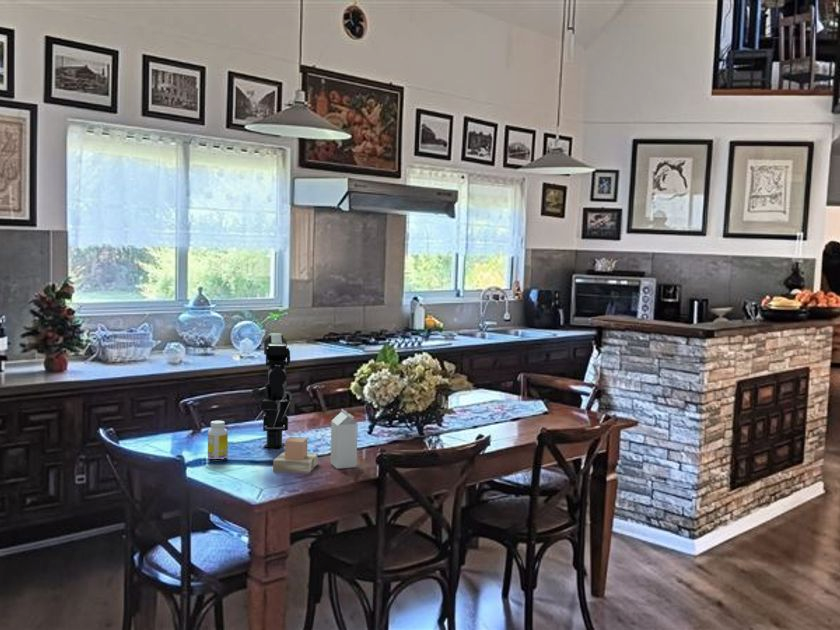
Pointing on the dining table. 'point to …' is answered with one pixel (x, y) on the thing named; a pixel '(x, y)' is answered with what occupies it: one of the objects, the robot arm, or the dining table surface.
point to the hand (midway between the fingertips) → (275, 424)
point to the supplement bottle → (217, 440)
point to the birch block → (295, 464)
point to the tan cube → (296, 448)
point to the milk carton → (344, 441)
